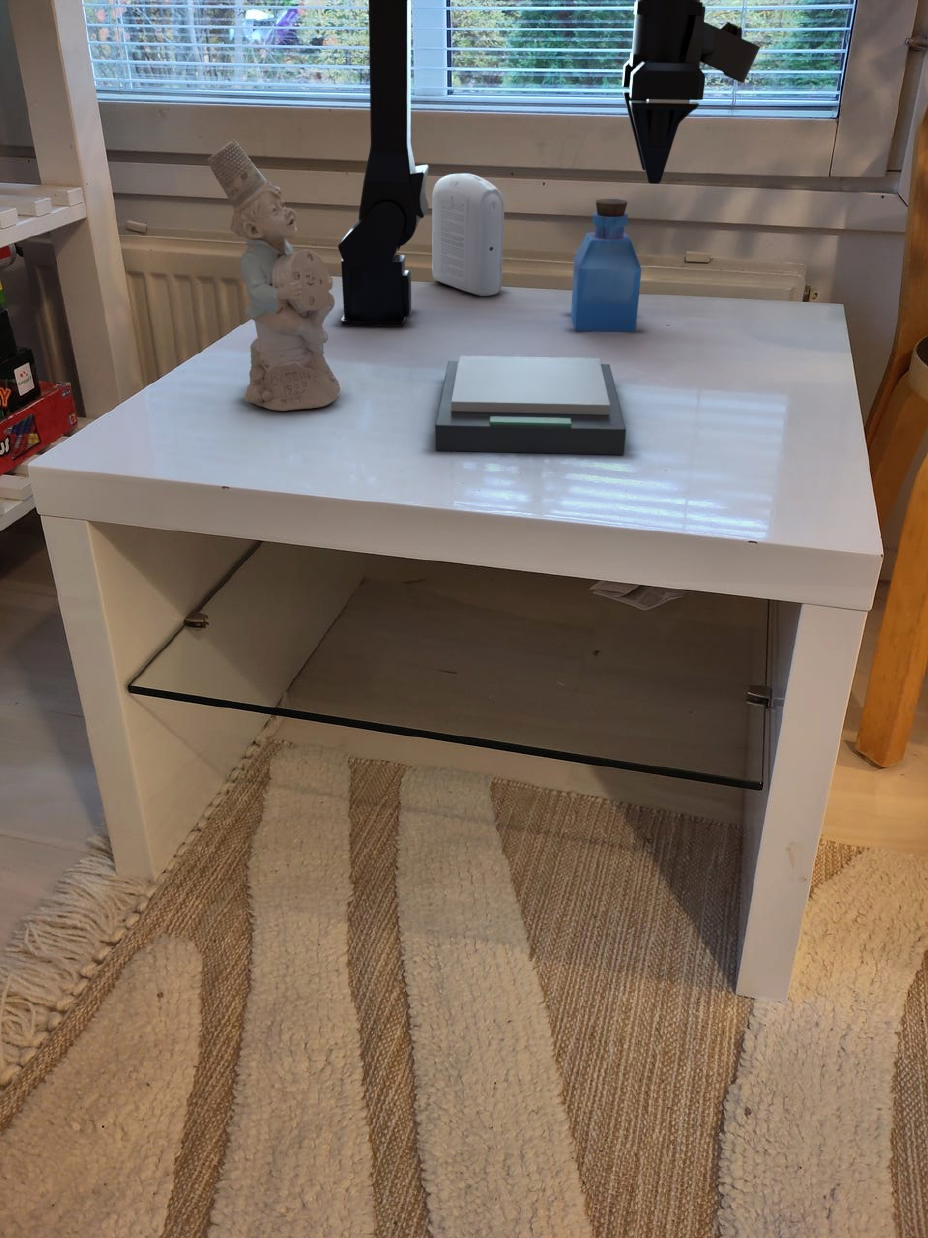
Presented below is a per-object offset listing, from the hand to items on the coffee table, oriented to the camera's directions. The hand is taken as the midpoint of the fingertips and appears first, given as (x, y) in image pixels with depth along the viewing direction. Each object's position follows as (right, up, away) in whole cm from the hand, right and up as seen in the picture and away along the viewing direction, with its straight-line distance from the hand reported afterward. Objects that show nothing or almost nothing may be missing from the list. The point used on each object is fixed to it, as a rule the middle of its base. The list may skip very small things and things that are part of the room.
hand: (650, 176), depth 99 cm
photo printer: (-18, -4, +21) cm, 28 cm away
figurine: (-33, -25, -14) cm, 43 cm away
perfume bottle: (-4, -12, +8) cm, 15 cm away
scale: (-13, -27, -17) cm, 34 cm away
